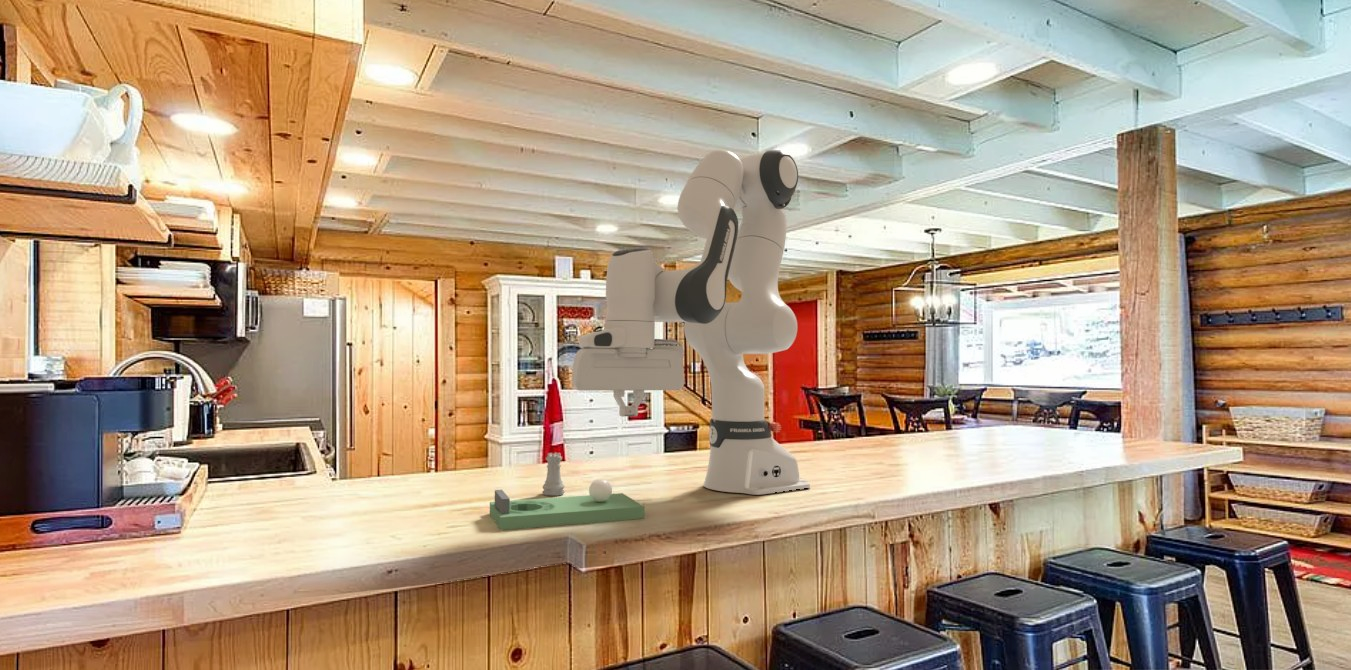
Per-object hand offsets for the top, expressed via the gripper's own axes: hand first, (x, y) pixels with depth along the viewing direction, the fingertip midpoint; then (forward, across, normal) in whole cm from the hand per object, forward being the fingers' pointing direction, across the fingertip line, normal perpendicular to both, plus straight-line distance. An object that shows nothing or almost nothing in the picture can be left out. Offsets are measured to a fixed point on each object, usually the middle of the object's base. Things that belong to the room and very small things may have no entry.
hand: (628, 416), depth 126 cm
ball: (+13, +5, 0) cm, 14 cm away
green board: (+17, +11, 0) cm, 20 cm away
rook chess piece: (+17, +9, -19) cm, 27 cm away
